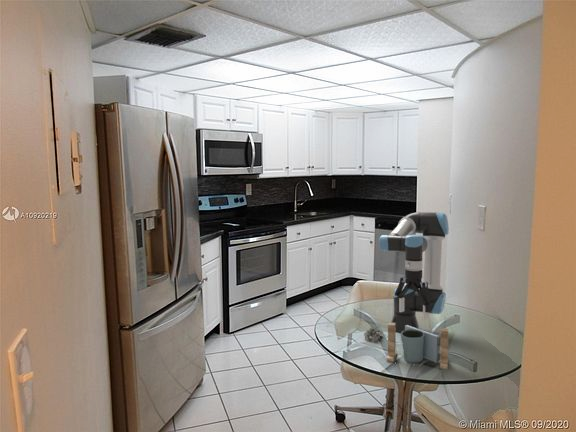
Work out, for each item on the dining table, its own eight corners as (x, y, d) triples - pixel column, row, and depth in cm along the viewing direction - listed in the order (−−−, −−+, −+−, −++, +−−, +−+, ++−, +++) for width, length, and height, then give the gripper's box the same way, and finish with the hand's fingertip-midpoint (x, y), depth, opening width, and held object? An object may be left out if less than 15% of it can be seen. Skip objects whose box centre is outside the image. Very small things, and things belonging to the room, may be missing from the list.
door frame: (390, 352, 209) (390, 320, 208) (448, 360, 199) (448, 326, 198) (386, 360, 200) (386, 326, 198) (447, 369, 190) (447, 333, 189)
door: (409, 348, 213) (409, 324, 212) (442, 361, 197) (442, 335, 196) (404, 349, 211) (404, 325, 210) (438, 363, 195) (438, 337, 194)
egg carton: (376, 342, 223) (376, 335, 222) (362, 340, 227) (362, 332, 227) (383, 336, 232) (383, 328, 231) (370, 333, 236) (370, 326, 235)
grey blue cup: (398, 357, 204) (396, 332, 202) (415, 351, 208) (413, 327, 207) (412, 365, 195) (411, 339, 193) (430, 359, 199) (429, 334, 197)
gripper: (387, 266, 206) (387, 310, 208) (431, 275, 185) (430, 324, 187) (398, 264, 210) (398, 307, 212) (442, 272, 190) (441, 320, 191)
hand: (413, 315), depth 200 cm, fingers open, 13 cm apart
